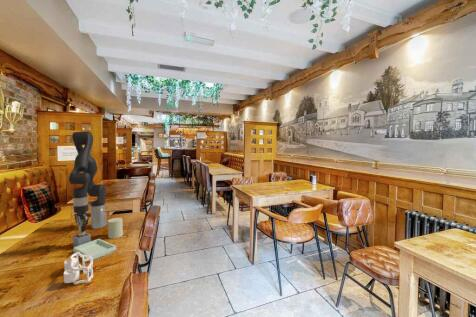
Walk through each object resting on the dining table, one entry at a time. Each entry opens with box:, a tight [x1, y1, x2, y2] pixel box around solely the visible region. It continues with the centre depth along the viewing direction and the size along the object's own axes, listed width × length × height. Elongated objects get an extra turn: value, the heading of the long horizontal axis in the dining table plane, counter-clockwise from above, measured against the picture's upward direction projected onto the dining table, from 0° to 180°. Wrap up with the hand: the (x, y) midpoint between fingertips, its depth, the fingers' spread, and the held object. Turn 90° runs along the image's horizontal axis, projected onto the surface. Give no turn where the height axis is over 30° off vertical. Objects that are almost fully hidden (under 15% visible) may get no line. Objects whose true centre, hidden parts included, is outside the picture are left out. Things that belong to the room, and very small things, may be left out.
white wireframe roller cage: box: [63, 252, 94, 285], centre depth 102 cm, size 20×11×7 cm, turn 39°
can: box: [107, 217, 124, 240], centre depth 146 cm, size 9×9×12 cm
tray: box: [73, 238, 117, 262], centre depth 124 cm, size 14×20×3 cm
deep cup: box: [72, 231, 92, 248], centre depth 132 cm, size 7×7×6 cm
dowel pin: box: [77, 223, 86, 238], centre depth 132 cm, size 3×3×10 cm
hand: (81, 230), depth 132 cm, fingers closed on dowel pin, 3 cm apart
